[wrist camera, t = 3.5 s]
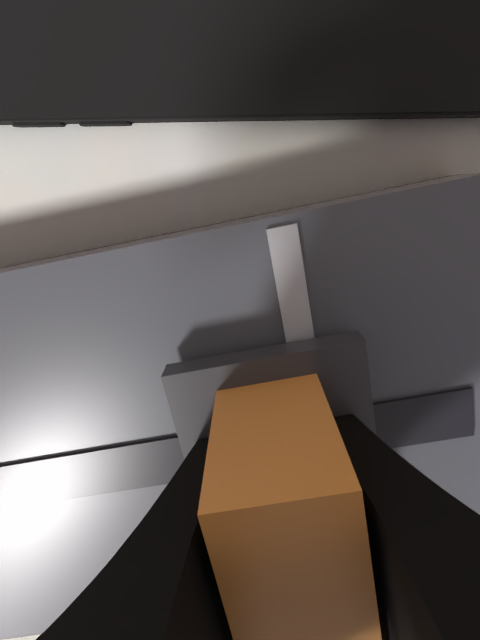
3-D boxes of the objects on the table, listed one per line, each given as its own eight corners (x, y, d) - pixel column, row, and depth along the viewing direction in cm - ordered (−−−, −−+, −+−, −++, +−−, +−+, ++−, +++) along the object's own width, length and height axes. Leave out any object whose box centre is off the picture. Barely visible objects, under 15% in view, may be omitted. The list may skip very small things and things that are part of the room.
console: (452, 175, 9) (494, 172, 7) (465, 528, 12) (498, 577, 10) (-337, 337, 10) (-438, 362, 9) (-150, 614, 13) (-201, 669, 12)
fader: (357, 329, 8) (446, 440, 5) (380, 523, 10) (461, 723, 6) (166, 364, 8) (106, 495, 5) (217, 547, 10) (200, 752, 6)
